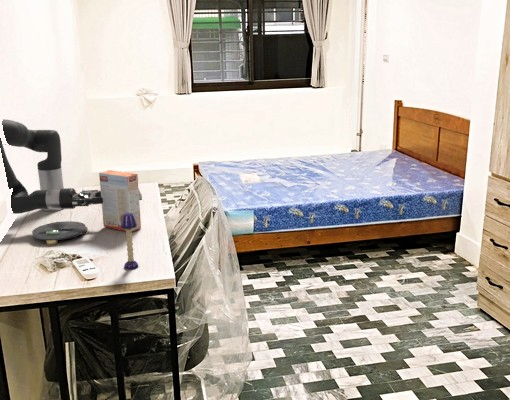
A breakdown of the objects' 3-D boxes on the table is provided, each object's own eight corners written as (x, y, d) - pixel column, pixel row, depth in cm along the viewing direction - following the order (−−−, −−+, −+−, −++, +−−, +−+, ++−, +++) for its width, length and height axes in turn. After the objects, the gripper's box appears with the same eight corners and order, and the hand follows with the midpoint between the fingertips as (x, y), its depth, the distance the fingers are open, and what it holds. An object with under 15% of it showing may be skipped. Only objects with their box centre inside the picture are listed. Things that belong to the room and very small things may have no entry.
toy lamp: (125, 264, 167) (120, 211, 163) (140, 263, 168) (136, 211, 163) (123, 270, 163) (118, 216, 159) (138, 269, 163) (134, 215, 159)
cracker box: (142, 228, 202) (138, 173, 196) (130, 233, 197) (126, 176, 191) (114, 222, 209) (110, 169, 203) (102, 227, 204) (98, 172, 198)
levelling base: (44, 229, 204) (42, 218, 203) (92, 227, 204) (91, 217, 203) (24, 246, 185) (22, 234, 184) (77, 244, 186) (75, 233, 185)
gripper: (53, 193, 192) (99, 192, 192) (66, 184, 206) (109, 182, 206) (56, 214, 194) (102, 212, 194) (68, 203, 208) (111, 202, 208)
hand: (105, 197), depth 200 cm, fingers open, 8 cm apart
